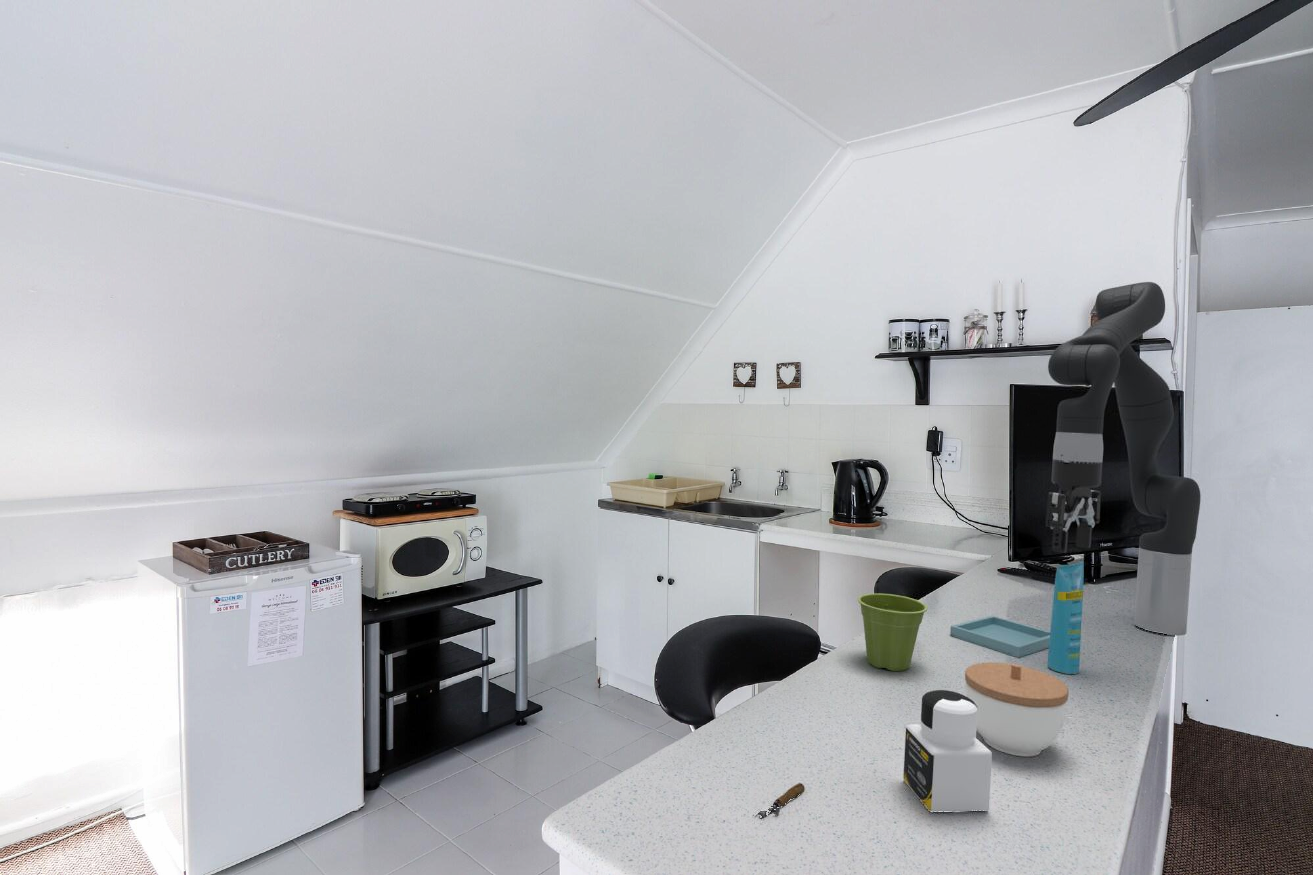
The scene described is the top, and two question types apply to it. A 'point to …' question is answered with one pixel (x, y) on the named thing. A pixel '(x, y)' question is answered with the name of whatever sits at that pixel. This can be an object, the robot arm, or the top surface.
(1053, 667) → the tube
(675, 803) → the top surface
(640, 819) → the top surface
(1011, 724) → the lidded bowl
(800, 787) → the can opener
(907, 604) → the plant pot
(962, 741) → the medicine bottle
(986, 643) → the tray
